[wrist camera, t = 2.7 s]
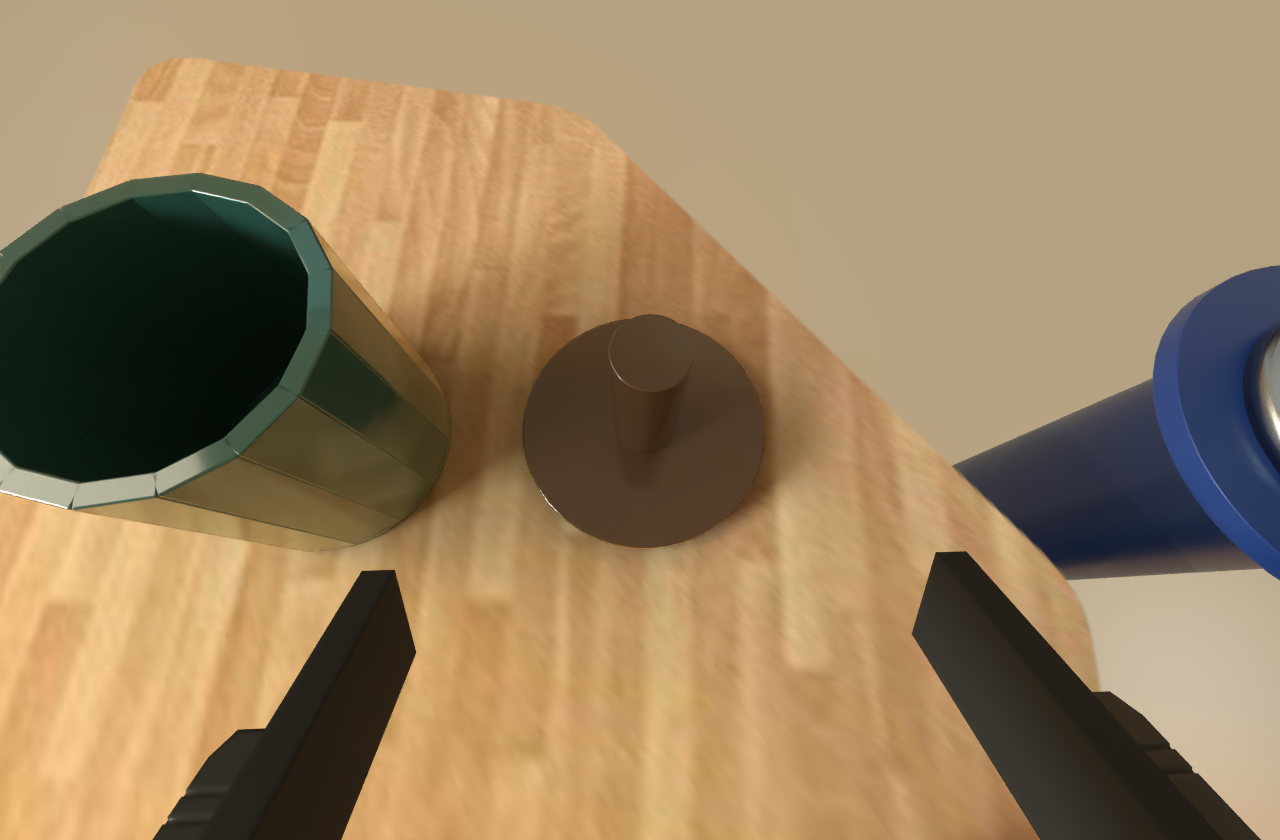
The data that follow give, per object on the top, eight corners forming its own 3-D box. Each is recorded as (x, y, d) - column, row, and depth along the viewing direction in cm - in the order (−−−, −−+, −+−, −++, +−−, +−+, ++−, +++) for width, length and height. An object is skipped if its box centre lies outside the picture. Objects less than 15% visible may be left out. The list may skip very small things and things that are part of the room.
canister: (488, 474, 28) (389, 379, 16) (270, 596, 26) (-24, 588, 14) (398, 307, 31) (260, 127, 20) (197, 404, 29) (-95, 266, 17)
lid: (806, 469, 29) (890, 405, 20) (601, 600, 26) (588, 596, 17) (677, 293, 32) (698, 168, 23) (486, 394, 30) (423, 300, 21)
